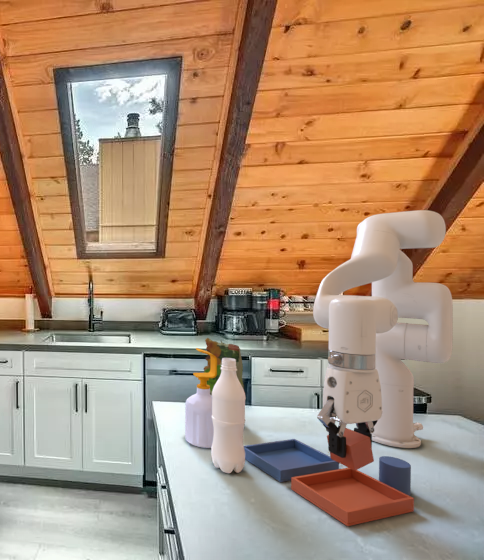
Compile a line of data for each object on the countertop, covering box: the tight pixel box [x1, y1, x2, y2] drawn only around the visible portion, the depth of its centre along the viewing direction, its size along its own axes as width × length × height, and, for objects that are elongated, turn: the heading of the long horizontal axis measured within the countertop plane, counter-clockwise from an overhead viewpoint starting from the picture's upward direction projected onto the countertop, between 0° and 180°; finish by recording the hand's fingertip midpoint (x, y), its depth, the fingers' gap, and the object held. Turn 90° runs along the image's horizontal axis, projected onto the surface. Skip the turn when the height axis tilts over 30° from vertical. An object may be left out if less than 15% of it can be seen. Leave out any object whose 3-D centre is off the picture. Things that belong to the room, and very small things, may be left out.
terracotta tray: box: [290, 467, 415, 527], centre depth 76 cm, size 16×12×2 cm
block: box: [326, 427, 375, 471], centre depth 76 cm, size 5×5×5 cm
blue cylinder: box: [378, 455, 412, 497], centre depth 79 cm, size 5×5×6 cm
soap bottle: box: [184, 347, 217, 449], centre depth 102 cm, size 9×9×25 cm
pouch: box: [203, 337, 246, 427], centre depth 114 cm, size 11×12×25 cm
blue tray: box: [244, 438, 340, 483], centre depth 90 cm, size 16×12×2 cm
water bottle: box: [210, 358, 247, 474], centre depth 88 cm, size 7×7×25 cm
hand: (349, 451), depth 75 cm, fingers closed on block, 5 cm apart
